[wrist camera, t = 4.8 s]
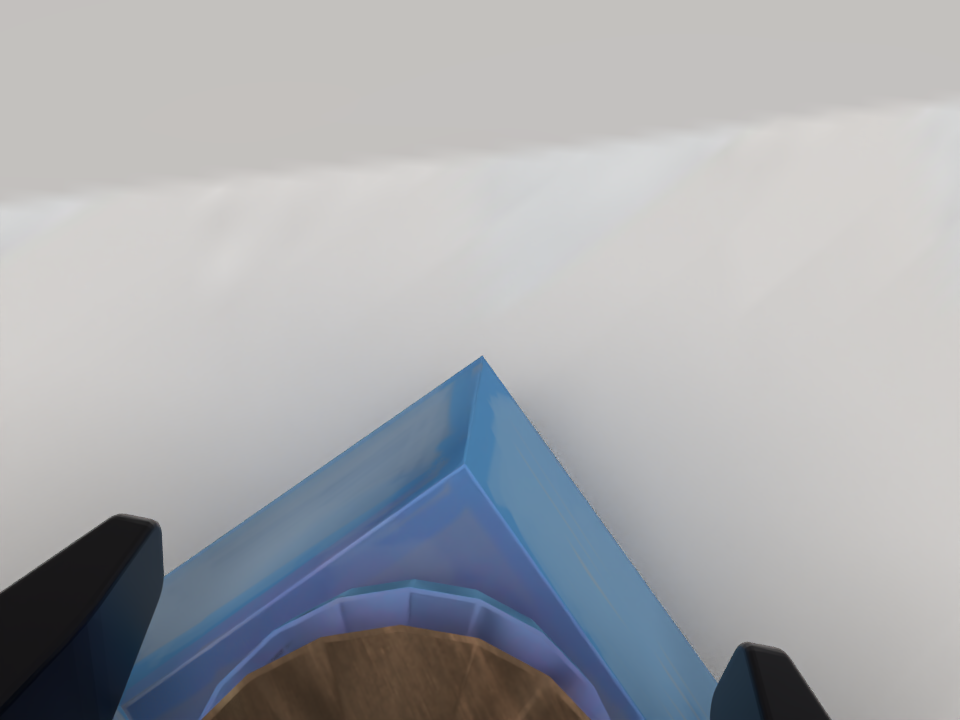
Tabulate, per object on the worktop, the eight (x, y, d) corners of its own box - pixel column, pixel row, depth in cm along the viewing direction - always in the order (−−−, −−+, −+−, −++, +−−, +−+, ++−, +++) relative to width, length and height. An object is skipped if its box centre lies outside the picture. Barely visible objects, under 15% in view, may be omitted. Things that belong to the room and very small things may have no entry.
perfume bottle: (661, 679, 17) (1118, 1023, 5) (389, 888, 17) (237, 1817, 5) (471, 411, 18) (512, 204, 6) (201, 599, 17) (-336, 775, 5)
